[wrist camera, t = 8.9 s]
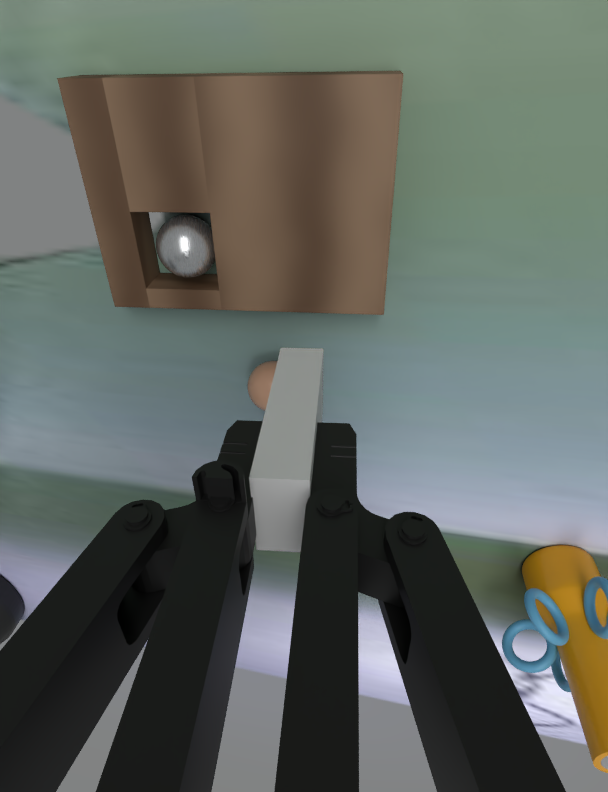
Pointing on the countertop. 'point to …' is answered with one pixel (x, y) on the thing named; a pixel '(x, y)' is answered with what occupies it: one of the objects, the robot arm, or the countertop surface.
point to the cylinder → (570, 634)
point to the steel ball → (186, 246)
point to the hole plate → (243, 183)
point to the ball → (261, 383)
